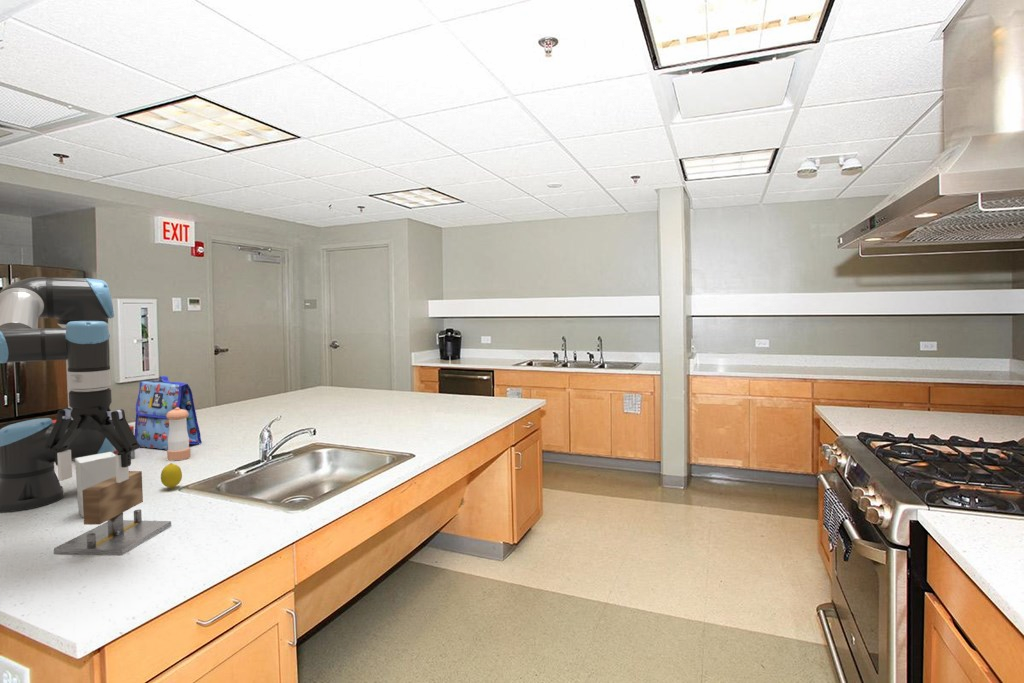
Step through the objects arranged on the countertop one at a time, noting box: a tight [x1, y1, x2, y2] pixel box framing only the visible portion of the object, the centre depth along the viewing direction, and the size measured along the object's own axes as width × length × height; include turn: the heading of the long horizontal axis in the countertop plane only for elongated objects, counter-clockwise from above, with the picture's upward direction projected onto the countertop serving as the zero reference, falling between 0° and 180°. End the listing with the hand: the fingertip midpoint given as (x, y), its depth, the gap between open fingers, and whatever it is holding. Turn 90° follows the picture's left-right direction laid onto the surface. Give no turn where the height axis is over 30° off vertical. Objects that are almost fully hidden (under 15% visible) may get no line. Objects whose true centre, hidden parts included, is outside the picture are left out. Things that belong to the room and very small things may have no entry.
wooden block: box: [82, 470, 144, 526], centre depth 124 cm, size 14×4×8 cm, turn 1°
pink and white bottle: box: [166, 408, 191, 461], centre depth 192 cm, size 7×7×19 cm
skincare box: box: [74, 452, 116, 519], centre depth 141 cm, size 8×7×16 cm
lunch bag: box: [134, 375, 202, 451], centre depth 210 cm, size 22×14×29 cm, turn 73°
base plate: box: [53, 509, 172, 556], centre depth 125 cm, size 16×16×6 cm
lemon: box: [160, 462, 183, 489], centre depth 160 cm, size 6×6×8 cm
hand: (94, 480), depth 119 cm, fingers open, 13 cm apart
